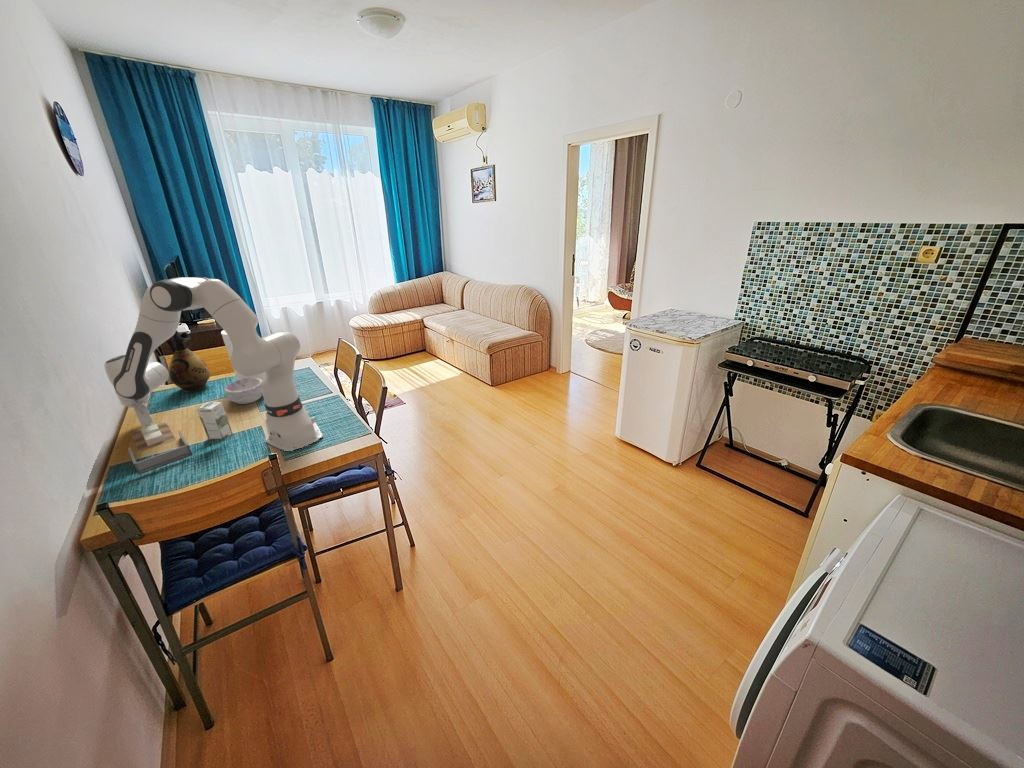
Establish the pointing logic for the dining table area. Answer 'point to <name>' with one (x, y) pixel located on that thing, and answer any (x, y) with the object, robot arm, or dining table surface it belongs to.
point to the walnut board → (167, 437)
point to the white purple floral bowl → (244, 390)
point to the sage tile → (150, 429)
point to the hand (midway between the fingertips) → (149, 426)
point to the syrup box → (214, 420)
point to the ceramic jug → (186, 365)
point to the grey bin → (162, 458)
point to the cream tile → (153, 438)
